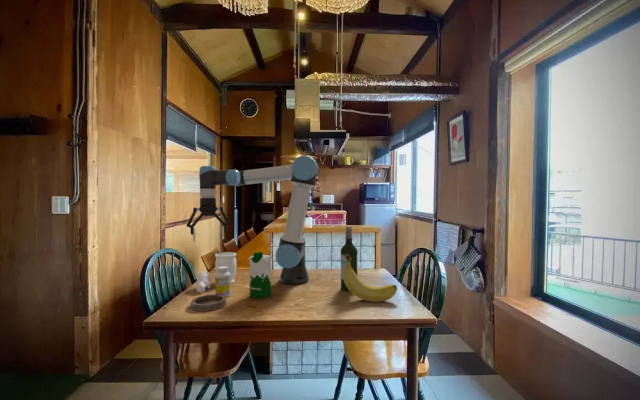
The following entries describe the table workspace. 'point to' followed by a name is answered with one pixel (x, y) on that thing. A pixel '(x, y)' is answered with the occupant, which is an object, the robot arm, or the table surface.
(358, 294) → the banana
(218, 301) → the dish
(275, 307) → the table surface
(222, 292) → the supplement bottle
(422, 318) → the table surface
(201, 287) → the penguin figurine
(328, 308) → the table surface
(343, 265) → the wine bottle
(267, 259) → the milk carton
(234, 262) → the jar
